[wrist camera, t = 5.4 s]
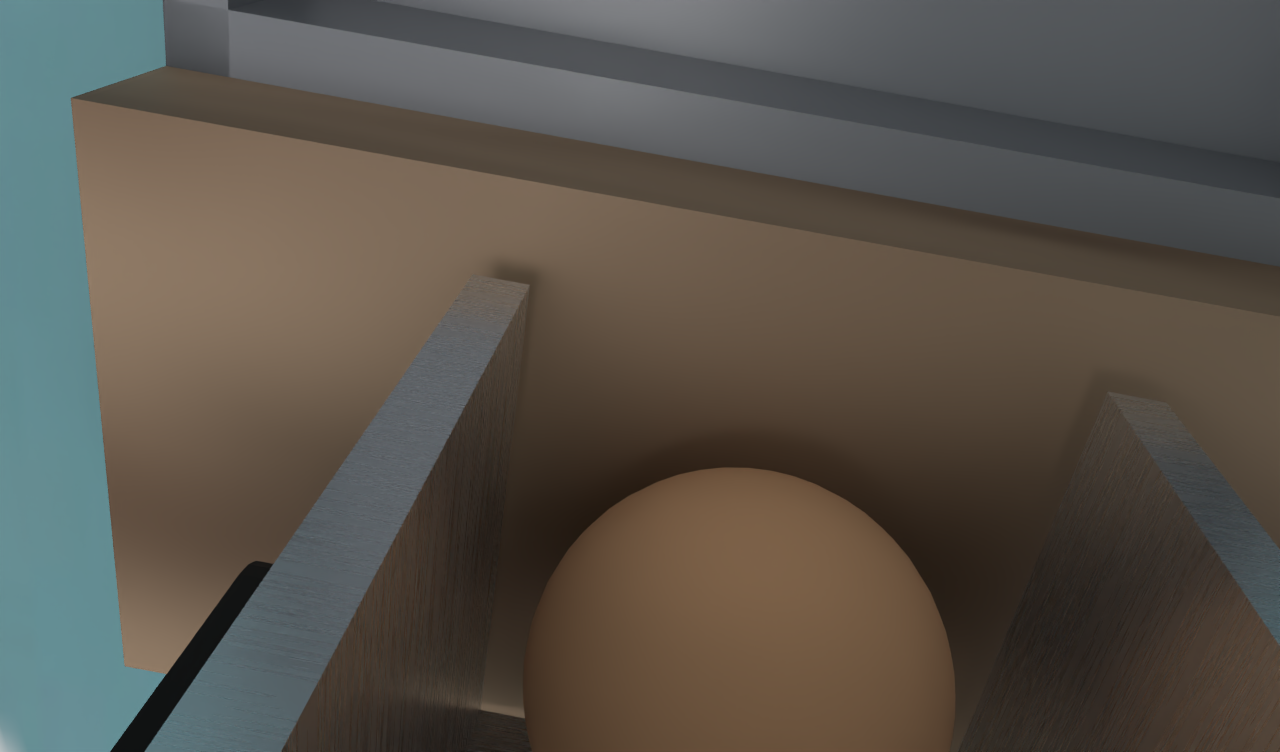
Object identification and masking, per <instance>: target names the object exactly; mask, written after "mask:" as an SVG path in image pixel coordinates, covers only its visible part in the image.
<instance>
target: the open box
mask: <svg viewBox="0 0 1280 752" xmlns="http://www.w3.org/2000/svg"><path fill="white" fill-rule="evenodd" d="M529 288H530V285H528V284H523V283H517V282H512V281H507V280H501V279H496V278H490V277H485V276H479V275H474V274H473V275H472V276H471V278H470V279H469V280H468V282H467V283H466V285H465V286H464V288H463V289H462V291H461V292H460V294H459V295H458V296H457V298H456V299H455V301H454V302H453V304H452V305H451V307H450V308H449V310H448V311H447V312H446V314H445V315H444V317H443V318H442V320H441V321H440V323H439V324H438V326H437V327H436V328H435V330H434V331H433V333H432V334H431V336H430V337H429V339H428V340H427V342H426V343H425V344H424V346H423V347H422V349H421V350H420V352H419V353H418V355H417V356H416V358H415V359H414V360H413V362H412V363H411V365H410V366H409V368H408V369H407V371H406V372H405V374H404V375H403V376H402V378H401V379H400V381H399V382H398V384H397V385H396V387H395V388H394V390H393V391H392V392H391V394H390V395H389V397H388V398H387V400H386V401H385V403H384V404H383V406H382V407H381V408H380V410H379V411H378V413H377V414H376V416H375V417H374V419H373V420H372V422H371V423H370V424H369V426H368V427H367V429H366V430H365V432H364V433H363V435H362V436H361V438H360V439H359V440H358V442H357V443H356V445H355V446H354V448H353V449H352V451H351V452H350V454H349V455H348V456H347V458H346V459H345V461H344V462H343V464H342V465H341V467H340V468H339V470H338V471H337V472H336V474H335V475H334V477H333V478H332V480H331V481H330V483H329V484H328V486H327V487H326V488H325V490H324V491H323V493H322V494H321V496H320V497H319V499H318V500H317V502H316V503H315V504H314V506H313V507H312V509H311V510H310V512H309V513H308V515H307V516H306V518H305V519H304V520H303V522H302V523H301V525H300V526H299V528H298V529H297V531H296V532H295V534H294V535H293V536H292V538H291V539H290V541H289V542H288V544H287V545H286V547H285V548H284V550H283V551H282V552H281V554H280V555H279V557H278V558H277V560H276V561H275V563H274V564H273V566H272V567H271V568H270V570H269V571H268V573H267V574H266V576H265V577H264V579H263V580H262V582H261V583H260V584H259V586H258V587H257V589H256V590H255V592H254V593H253V595H252V596H251V598H250V599H249V600H248V602H247V603H246V605H245V606H244V608H243V609H242V611H241V612H240V614H239V615H238V617H237V618H236V619H235V621H234V622H233V624H232V625H231V627H230V628H229V630H228V631H227V633H226V634H225V635H224V637H223V638H222V640H221V641H220V643H219V644H218V646H217V647H216V649H215V650H214V651H213V653H212V654H211V656H210V657H209V659H208V660H207V662H206V663H205V665H204V666H203V667H202V669H201V670H200V672H199V673H198V675H197V676H196V678H195V679H194V681H193V682H192V683H191V685H190V686H189V688H188V689H187V691H186V692H185V694H184V695H183V697H182V698H181V699H180V701H179V702H178V704H177V705H176V707H175V708H174V710H173V711H172V713H171V714H170V715H169V717H168V718H167V720H166V721H165V723H164V724H163V726H162V727H161V729H160V730H159V731H158V733H157V734H156V736H155V737H154V739H153V740H152V742H151V743H150V745H149V746H148V747H147V749H146V750H145V752H532V749H531V746H530V743H529V738H528V732H527V727H526V722H525V718H521V717H516V716H510V715H505V714H500V713H495V712H490V711H484V710H481V704H482V695H483V686H484V678H485V669H486V660H487V652H488V643H489V634H490V626H491V617H492V608H493V600H494V591H495V582H496V574H497V565H498V557H499V548H500V539H501V531H502V522H503V513H504V505H505V496H506V487H507V479H508V470H509V461H510V453H511V444H512V435H513V427H514V418H515V409H516V401H517V392H518V383H519V375H520V366H521V357H522V349H523V340H524V331H525V323H526V314H527V306H528V297H529ZM958 752H1280V549H1279V548H1278V547H1277V545H1276V544H1275V543H1274V541H1273V540H1272V539H1271V538H1270V536H1269V535H1268V534H1267V532H1266V531H1265V530H1264V528H1263V527H1262V526H1261V525H1260V523H1259V522H1258V521H1257V519H1256V518H1255V517H1254V515H1253V514H1252V513H1251V512H1250V510H1249V509H1248V508H1247V506H1246V505H1245V504H1244V503H1243V501H1242V500H1241V499H1240V497H1239V496H1238V495H1237V493H1236V492H1235V491H1234V490H1233V488H1232V487H1231V486H1230V484H1229V483H1228V482H1227V480H1226V479H1225V478H1224V477H1223V475H1222V474H1221V473H1220V471H1219V470H1218V469H1217V468H1216V466H1215V465H1214V464H1213V462H1212V461H1211V460H1210V458H1209V457H1208V456H1207V455H1206V453H1205V452H1204V451H1203V449H1202V448H1201V447H1200V446H1199V444H1198V443H1197V442H1196V440H1195V439H1194V438H1193V436H1192V435H1191V434H1190V433H1189V431H1188V430H1187V429H1186V427H1185V426H1184V425H1183V423H1182V422H1181V421H1180V420H1179V418H1178V417H1177V416H1176V414H1175V413H1174V412H1173V411H1172V409H1171V408H1170V407H1169V405H1168V404H1167V403H1166V402H1162V401H1156V400H1151V399H1146V398H1140V397H1135V396H1129V395H1124V394H1119V393H1113V392H1107V394H1106V397H1105V399H1104V402H1103V404H1102V406H1101V409H1100V411H1099V414H1098V416H1097V418H1096V421H1095V423H1094V426H1093V428H1092V430H1091V433H1090V435H1089V438H1088V440H1087V442H1086V445H1085V447H1084V450H1083V452H1082V454H1081V457H1080V459H1079V462H1078V464H1077V466H1076V469H1075V471H1074V474H1073V476H1072V478H1071V481H1070V483H1069V486H1068V488H1067V490H1066V493H1065V495H1064V498H1063V500H1062V502H1061V505H1060V507H1059V510H1058V512H1057V514H1056V517H1055V519H1054V522H1053V524H1052V526H1051V529H1050V531H1049V534H1048V536H1047V538H1046V541H1045V543H1044V546H1043V548H1042V550H1041V553H1040V555H1039V558H1038V560H1037V562H1036V565H1035V567H1034V570H1033V572H1032V574H1031V577H1030V579H1029V582H1028V584H1027V586H1026V589H1025V591H1024V594H1023V596H1022V598H1021V601H1020V603H1019V606H1018V608H1017V610H1016V613H1015V615H1014V617H1013V620H1012V622H1011V625H1010V627H1009V629H1008V632H1007V634H1006V637H1005V639H1004V641H1003V644H1002V646H1001V649H1000V651H999V653H998V656H997V658H996V661H995V663H994V665H993V668H992V670H991V673H990V675H989V677H988V680H987V682H986V685H985V687H984V689H983V692H982V694H981V697H980V699H979V701H978V704H977V706H976V709H975V711H974V713H973V716H972V718H971V721H970V723H969V725H968V728H967V730H966V733H965V735H964V737H963V740H962V742H961V745H960V747H959V749H958Z"/></svg>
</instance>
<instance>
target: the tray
mask: <svg viewBox="0 0 1280 752" xmlns="http://www.w3.org/2000/svg"><path fill="white" fill-rule="evenodd" d="M163 12H164V31H165V50H166V66H169V67H175V68H180V69H186V70H191V71H197V72H202V73H208V74H214V75H219V76H225V77H230V78H236V79H241V80H247V81H252V82H258V83H264V84H269V85H275V86H280V87H286V88H291V89H297V90H302V91H308V92H313V93H319V94H325V95H330V96H336V97H341V98H347V99H352V100H358V101H363V102H369V103H374V104H380V105H386V106H391V107H397V108H402V109H408V110H413V111H419V112H424V113H430V114H435V115H441V116H447V117H452V118H458V119H463V120H469V121H474V122H480V123H485V124H491V125H497V126H502V127H508V128H513V129H519V130H524V131H530V132H535V133H541V134H546V135H552V136H558V137H563V138H569V139H574V140H580V141H585V142H591V143H596V144H602V145H607V146H613V147H619V148H624V149H630V150H635V151H641V152H646V153H652V154H657V155H663V156H668V157H674V158H680V159H685V160H691V161H696V162H702V163H707V164H713V165H718V166H724V167H730V168H735V169H741V170H746V171H752V172H757V173H763V174H768V175H774V176H779V177H785V178H791V179H796V180H802V181H807V182H813V183H818V184H824V185H829V186H835V187H840V188H846V189H852V190H857V191H863V192H868V193H874V194H879V195H885V196H890V197H896V198H901V199H907V200H913V201H918V202H924V203H929V204H935V205H940V206H946V207H951V208H957V209H963V210H968V211H974V212H979V213H985V214H990V215H996V216H1001V217H1007V218H1012V219H1018V220H1024V221H1029V222H1035V223H1040V224H1046V225H1051V226H1057V227H1062V228H1068V229H1073V230H1079V231H1085V232H1090V233H1096V234H1101V235H1107V236H1112V237H1118V238H1123V239H1129V240H1134V241H1140V242H1146V243H1151V244H1157V245H1162V246H1168V247H1173V248H1179V249H1184V250H1190V251H1195V252H1201V253H1207V254H1212V255H1218V256H1223V257H1229V258H1234V259H1240V260H1245V261H1251V262H1257V263H1262V264H1268V265H1273V266H1279V267H1280V0H163Z"/></svg>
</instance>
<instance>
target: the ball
mask: <svg viewBox="0 0 1280 752" xmlns="http://www.w3.org/2000/svg"><path fill="white" fill-rule="evenodd" d="M955 699H956V695H955V675H954V668H953V662H952V656H951V651H950V647H949V642H948V638H947V634H946V630H945V627H944V625H943V622H942V619H941V617H940V614H939V611H938V609H937V607H936V604H935V602H934V599H933V597H932V595H931V592H930V591H929V589H928V587H927V586H926V584H925V582H924V581H923V579H922V578H921V576H920V574H919V573H918V571H917V570H916V568H915V566H914V565H913V563H912V562H911V560H910V558H909V557H908V556H907V555H906V553H905V552H904V551H903V550H902V549H901V547H900V546H899V545H898V544H897V543H896V542H895V540H894V539H893V538H892V537H891V536H890V535H889V534H888V533H887V532H886V531H885V530H884V529H883V528H882V527H881V526H879V525H878V524H877V523H876V522H875V521H874V520H873V519H872V518H870V517H869V516H868V515H867V514H866V513H865V512H863V511H862V510H860V509H859V508H857V507H856V506H854V505H853V504H851V503H850V502H848V501H847V500H845V499H844V498H842V497H840V496H838V495H836V494H834V493H832V492H830V491H828V490H826V489H824V488H822V487H820V486H818V485H817V484H814V483H811V482H809V481H806V480H803V479H800V478H798V477H795V476H791V475H787V474H783V473H779V472H775V471H770V470H762V469H754V468H730V467H724V468H713V469H703V470H697V471H693V472H688V473H684V474H679V475H676V476H673V477H670V478H667V479H664V480H661V481H658V482H656V483H654V484H652V485H650V486H648V487H646V488H644V489H642V490H640V491H637V492H635V493H633V494H631V495H629V496H628V497H626V498H625V499H623V500H622V501H620V502H619V503H617V504H615V505H614V506H612V507H611V508H609V509H608V510H607V511H606V512H605V513H604V514H603V515H601V516H600V517H599V518H598V519H597V520H596V521H595V522H593V523H592V524H591V525H590V526H589V527H588V528H587V529H586V530H585V531H584V532H583V533H582V534H581V535H580V536H579V537H578V539H577V540H576V541H575V542H574V543H573V544H572V546H571V547H570V548H569V549H568V550H567V552H566V554H565V555H564V557H563V558H562V560H561V561H560V563H559V564H558V566H557V568H556V569H555V571H554V572H553V574H552V576H551V577H550V579H549V581H548V582H547V584H546V587H545V589H544V592H543V594H542V597H541V599H540V601H539V604H538V606H537V609H536V612H535V614H534V617H533V619H532V623H531V628H530V632H529V637H528V641H527V647H526V652H525V658H524V671H523V705H524V713H525V722H526V727H527V732H528V738H529V743H530V746H531V749H532V752H949V751H950V746H951V742H952V737H953V729H954V721H955Z"/></svg>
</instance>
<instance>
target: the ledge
mask: <svg viewBox="0 0 1280 752" xmlns="http://www.w3.org/2000/svg"><path fill="white" fill-rule="evenodd" d="M71 104H72V115H73V125H74V136H75V147H76V157H77V168H78V178H79V189H80V199H81V210H82V220H83V231H84V241H85V252H86V263H87V273H88V284H89V294H90V305H91V315H92V326H93V336H94V347H95V357H96V368H97V378H98V389H99V400H100V410H101V421H102V431H103V442H104V452H105V463H106V473H107V484H108V494H109V505H110V516H111V526H112V537H113V547H114V558H115V568H116V579H117V589H118V600H119V610H120V621H121V631H122V642H123V653H124V663H125V666H127V667H132V668H138V669H143V670H148V671H154V672H159V673H164V674H167V673H168V671H169V670H170V669H171V667H172V666H173V665H174V663H175V662H176V660H177V659H178V658H179V656H180V655H181V654H182V652H183V651H184V649H185V648H186V647H187V645H188V644H189V643H190V641H191V640H192V638H193V637H194V636H195V634H196V633H197V631H198V630H199V629H200V627H201V626H202V625H203V623H204V622H205V620H206V619H207V618H208V616H209V615H210V614H211V612H212V611H213V609H214V608H215V607H216V605H217V604H218V603H219V601H220V600H221V598H222V597H223V596H224V594H225V593H226V591H227V590H228V589H229V587H230V586H231V585H232V583H233V582H234V580H235V579H236V578H237V576H238V575H239V574H240V573H241V572H242V570H243V569H244V568H245V567H246V566H247V565H248V564H250V563H252V562H254V561H261V562H266V563H272V564H274V563H275V561H276V560H277V558H278V557H279V555H280V554H281V552H282V551H283V550H284V548H285V547H286V545H287V544H288V542H289V541H290V539H291V538H292V536H293V535H294V534H295V532H296V531H297V529H298V528H299V526H300V525H301V523H302V522H303V520H304V519H305V518H306V516H307V515H308V513H309V512H310V510H311V509H312V507H313V506H314V504H315V503H316V502H317V500H318V499H319V497H320V496H321V494H322V493H323V491H324V490H325V488H326V487H327V486H328V484H329V483H330V481H331V480H332V478H333V477H334V475H335V474H336V472H337V471H338V470H339V468H340V467H341V465H342V464H343V462H344V461H345V459H346V458H347V456H348V455H349V454H350V452H351V451H352V449H353V448H354V446H355V445H356V443H357V442H358V440H359V439H360V438H361V436H362V435H363V433H364V432H365V430H366V429H367V427H368V426H369V424H370V423H371V422H372V420H373V419H374V417H375V416H376V414H377V413H378V411H379V410H380V408H381V407H382V406H383V404H384V403H385V401H386V400H387V398H388V397H389V395H390V394H391V392H392V391H393V390H394V388H395V387H396V385H397V384H398V382H399V381H400V379H401V378H402V376H403V375H404V374H405V372H406V371H407V369H408V368H409V366H410V365H411V363H412V362H413V360H414V359H415V358H416V356H417V355H418V353H419V352H420V350H421V349H422V347H423V346H424V344H425V343H426V342H427V340H428V339H429V337H430V336H431V334H432V333H433V331H434V330H435V328H436V327H437V326H438V324H439V323H440V321H441V320H442V318H443V317H444V315H445V314H446V312H447V311H448V310H449V308H450V307H451V305H452V304H453V302H454V301H455V299H456V298H457V296H458V295H459V294H460V292H461V291H462V289H463V288H464V286H465V285H466V283H467V282H468V280H469V279H470V278H471V276H472V275H473V274H474V275H479V276H485V277H490V278H496V279H501V280H507V281H512V282H517V283H523V284H528V285H530V288H529V297H528V306H527V314H526V323H525V331H524V340H523V349H522V357H521V366H520V375H519V383H518V392H517V401H516V409H515V418H514V427H513V435H512V444H511V453H510V461H509V470H508V479H507V487H506V496H505V505H504V513H503V522H502V531H501V539H500V548H499V557H498V565H497V574H496V582H495V591H494V600H493V608H492V617H491V626H490V634H489V643H488V652H487V660H486V669H485V678H484V686H483V695H482V704H481V710H484V711H490V712H495V713H500V714H505V715H510V716H516V717H521V718H525V713H524V705H523V671H524V658H525V652H526V647H527V641H528V637H529V632H530V628H531V623H532V619H533V617H534V614H535V612H536V609H537V606H538V604H539V601H540V599H541V597H542V594H543V592H544V589H545V587H546V584H547V582H548V581H549V579H550V577H551V576H552V574H553V572H554V571H555V569H556V568H557V566H558V564H559V563H560V561H561V560H562V558H563V557H564V555H565V554H566V552H567V550H568V549H569V548H570V547H571V546H572V544H573V543H574V542H575V541H576V540H577V539H578V537H579V536H580V535H581V534H582V533H583V532H584V531H585V530H586V529H587V528H588V527H589V526H590V525H591V524H592V523H593V522H595V521H596V520H597V519H598V518H599V517H600V516H601V515H603V514H604V513H605V512H606V511H607V510H608V509H609V508H611V507H612V506H614V505H615V504H617V503H619V502H620V501H622V500H623V499H625V498H626V497H628V496H629V495H631V494H633V493H635V492H637V491H640V490H642V489H644V488H646V487H648V486H650V485H652V484H654V483H656V482H658V481H661V480H664V479H667V478H670V477H673V476H676V475H679V474H684V473H688V472H693V471H697V470H703V469H713V468H724V467H730V468H754V469H762V470H770V471H775V472H779V473H783V474H787V475H791V476H795V477H798V478H800V479H803V480H806V481H809V482H811V483H814V484H817V485H818V486H820V487H822V488H824V489H826V490H828V491H830V492H832V493H834V494H836V495H838V496H840V497H842V498H844V499H845V500H847V501H848V502H850V503H851V504H853V505H854V506H856V507H857V508H859V509H860V510H862V511H863V512H865V513H866V514H867V515H868V516H869V517H870V518H872V519H873V520H874V521H875V522H876V523H877V524H878V525H879V526H881V527H882V528H883V529H884V530H885V531H886V532H887V533H888V534H889V535H890V536H891V537H892V538H893V539H894V540H895V542H896V543H897V544H898V545H899V546H900V547H901V549H902V550H903V551H904V552H905V553H906V555H907V556H908V557H909V558H910V560H911V562H912V563H913V565H914V566H915V568H916V570H917V571H918V573H919V574H920V576H921V578H922V579H923V581H924V582H925V584H926V586H927V587H928V589H929V591H930V592H931V595H932V597H933V599H934V602H935V604H936V607H937V609H938V611H939V614H940V617H941V619H942V622H943V625H944V627H945V630H946V634H947V638H948V642H949V647H950V651H951V656H952V662H953V668H954V675H955V695H956V699H955V721H954V729H953V737H952V742H951V746H950V751H949V752H958V749H959V747H960V745H961V742H962V740H963V737H964V735H965V733H966V730H967V728H968V725H969V723H970V721H971V718H972V716H973V713H974V711H975V709H976V706H977V704H978V701H979V699H980V697H981V694H982V692H983V689H984V687H985V685H986V682H987V680H988V677H989V675H990V673H991V670H992V668H993V665H994V663H995V661H996V658H997V656H998V653H999V651H1000V649H1001V646H1002V644H1003V641H1004V639H1005V637H1006V634H1007V632H1008V629H1009V627H1010V625H1011V622H1012V620H1013V617H1014V615H1015V613H1016V610H1017V608H1018V606H1019V603H1020V601H1021V598H1022V596H1023V594H1024V591H1025V589H1026V586H1027V584H1028V582H1029V579H1030V577H1031V574H1032V572H1033V570H1034V567H1035V565H1036V562H1037V560H1038V558H1039V555H1040V553H1041V550H1042V548H1043V546H1044V543H1045V541H1046V538H1047V536H1048V534H1049V531H1050V529H1051V526H1052V524H1053V522H1054V519H1055V517H1056V514H1057V512H1058V510H1059V507H1060V505H1061V502H1062V500H1063V498H1064V495H1065V493H1066V490H1067V488H1068V486H1069V483H1070V481H1071V478H1072V476H1073V474H1074V471H1075V469H1076V466H1077V464H1078V462H1079V459H1080V457H1081V454H1082V452H1083V450H1084V447H1085V445H1086V442H1087V440H1088V438H1089V435H1090V433H1091V430H1092V428H1093V426H1094V423H1095V421H1096V418H1097V416H1098V414H1099V411H1100V409H1101V406H1102V404H1103V402H1104V399H1105V397H1106V394H1107V392H1113V393H1119V394H1124V395H1129V396H1135V397H1140V398H1146V399H1151V400H1156V401H1162V402H1166V403H1167V404H1168V405H1169V407H1170V408H1171V409H1172V411H1173V412H1174V413H1175V414H1176V416H1177V417H1178V418H1179V420H1180V421H1181V422H1182V423H1183V425H1184V426H1185V427H1186V429H1187V430H1188V431H1189V433H1190V434H1191V435H1192V436H1193V438H1194V439H1195V440H1196V442H1197V443H1198V444H1199V446H1200V447H1201V448H1202V449H1203V451H1204V452H1205V453H1206V455H1207V456H1208V457H1209V458H1210V460H1211V461H1212V462H1213V464H1214V465H1215V466H1216V468H1217V469H1218V470H1219V471H1220V473H1221V474H1222V475H1223V477H1224V478H1225V479H1226V480H1227V482H1228V483H1229V484H1230V486H1231V487H1232V488H1233V490H1234V491H1235V492H1236V493H1237V495H1238V496H1239V497H1240V499H1241V500H1242V501H1243V503H1244V504H1245V505H1246V506H1247V508H1248V509H1249V510H1250V512H1251V513H1252V514H1253V515H1254V517H1255V518H1256V519H1257V521H1258V522H1259V523H1260V525H1261V526H1262V527H1263V528H1264V530H1265V531H1266V532H1267V534H1268V535H1269V536H1270V538H1271V539H1272V540H1273V541H1274V543H1275V544H1276V545H1277V547H1278V548H1279V549H1280V267H1279V266H1273V265H1268V264H1262V263H1257V262H1251V261H1245V260H1240V259H1234V258H1229V257H1223V256H1218V255H1212V254H1207V253H1201V252H1195V251H1190V250H1184V249H1179V248H1173V247H1168V246H1162V245H1157V244H1151V243H1146V242H1140V241H1134V240H1129V239H1123V238H1118V237H1112V236H1107V235H1101V234H1096V233H1090V232H1085V231H1079V230H1073V229H1068V228H1062V227H1057V226H1051V225H1046V224H1040V223H1035V222H1029V221H1024V220H1018V219H1012V218H1007V217H1001V216H996V215H990V214H985V213H979V212H974V211H968V210H963V209H957V208H951V207H946V206H940V205H935V204H929V203H924V202H918V201H913V200H907V199H901V198H896V197H890V196H885V195H879V194H874V193H868V192H863V191H857V190H852V189H846V188H840V187H835V186H829V185H824V184H818V183H813V182H807V181H802V180H796V179H791V178H785V177H779V176H774V175H768V174H763V173H757V172H752V171H746V170H741V169H735V168H730V167H724V166H718V165H713V164H707V163H702V162H696V161H691V160H685V159H680V158H674V157H668V156H663V155H657V154H652V153H646V152H641V151H635V150H630V149H624V148H619V147H613V146H607V145H602V144H596V143H591V142H585V141H580V140H574V139H569V138H563V137H558V136H552V135H546V134H541V133H535V132H530V131H524V130H519V129H513V128H508V127H502V126H497V125H491V124H485V123H480V122H474V121H469V120H463V119H458V118H452V117H447V116H441V115H435V114H430V113H424V112H419V111H413V110H408V109H402V108H397V107H391V106H386V105H380V104H374V103H369V102H363V101H358V100H352V99H347V98H341V97H336V96H330V95H325V94H319V93H313V92H308V91H302V90H297V89H291V88H286V87H280V86H275V85H269V84H264V83H258V82H252V81H247V80H241V79H236V78H230V77H225V76H219V75H214V74H208V73H202V72H197V71H191V70H186V69H180V68H175V67H169V66H165V67H162V68H159V69H156V70H153V71H150V72H147V73H144V74H141V75H138V76H135V77H132V78H129V79H126V80H123V81H120V82H117V83H114V84H111V85H108V86H105V87H102V88H99V89H96V90H93V91H90V92H87V93H84V94H81V95H78V96H76V97H73V98H71Z"/></svg>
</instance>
